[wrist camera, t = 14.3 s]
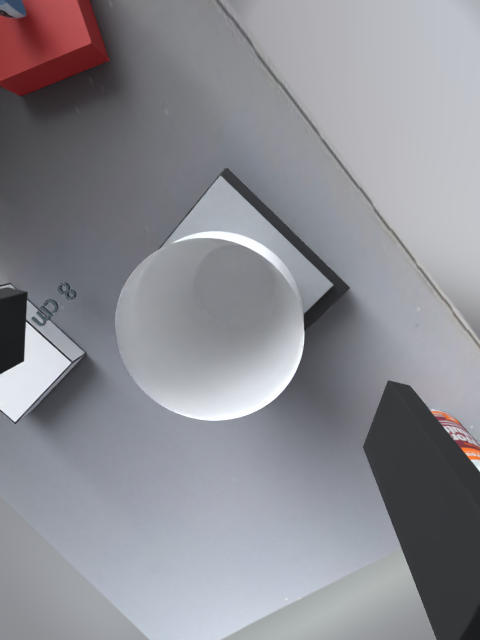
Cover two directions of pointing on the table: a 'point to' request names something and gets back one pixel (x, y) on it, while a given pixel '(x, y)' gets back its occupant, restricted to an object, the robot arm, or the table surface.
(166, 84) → the table surface
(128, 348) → the cup
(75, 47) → the red rectangular block
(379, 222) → the table surface
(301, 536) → the table surface
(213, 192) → the scale
